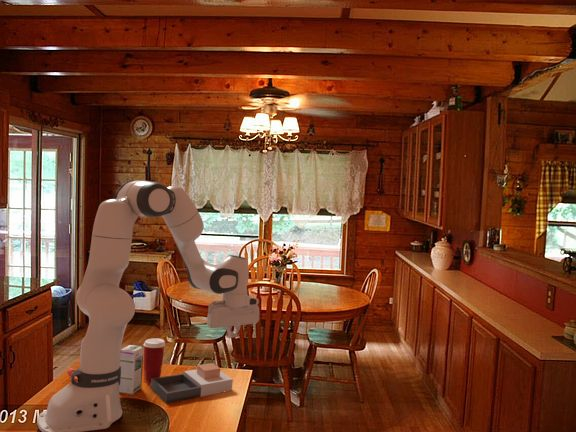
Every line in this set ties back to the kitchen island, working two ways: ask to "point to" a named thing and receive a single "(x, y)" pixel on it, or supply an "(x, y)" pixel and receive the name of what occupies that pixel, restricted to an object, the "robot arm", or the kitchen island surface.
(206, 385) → the flat white box
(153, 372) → the paper cup
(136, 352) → the syrup box
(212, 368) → the tile
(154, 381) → the tray
